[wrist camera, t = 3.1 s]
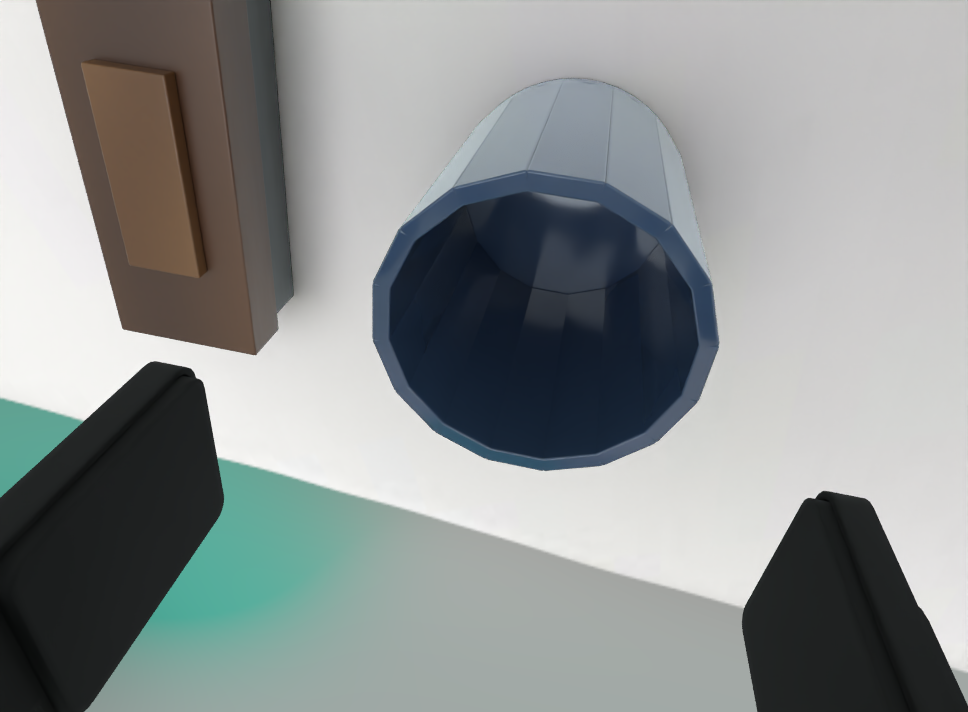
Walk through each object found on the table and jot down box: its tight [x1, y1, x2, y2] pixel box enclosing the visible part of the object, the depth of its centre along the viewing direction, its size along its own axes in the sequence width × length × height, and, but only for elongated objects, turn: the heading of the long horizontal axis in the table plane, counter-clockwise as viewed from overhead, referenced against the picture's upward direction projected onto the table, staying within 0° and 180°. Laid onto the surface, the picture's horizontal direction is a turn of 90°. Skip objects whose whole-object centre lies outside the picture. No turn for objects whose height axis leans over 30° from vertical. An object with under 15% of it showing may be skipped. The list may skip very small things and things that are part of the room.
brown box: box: [36, 0, 293, 355], centre depth 20 cm, size 5×12×4 cm, turn 174°
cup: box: [372, 78, 719, 471], centre depth 17 cm, size 7×7×9 cm
